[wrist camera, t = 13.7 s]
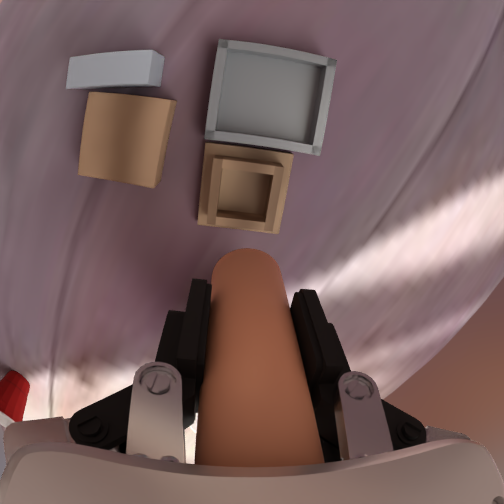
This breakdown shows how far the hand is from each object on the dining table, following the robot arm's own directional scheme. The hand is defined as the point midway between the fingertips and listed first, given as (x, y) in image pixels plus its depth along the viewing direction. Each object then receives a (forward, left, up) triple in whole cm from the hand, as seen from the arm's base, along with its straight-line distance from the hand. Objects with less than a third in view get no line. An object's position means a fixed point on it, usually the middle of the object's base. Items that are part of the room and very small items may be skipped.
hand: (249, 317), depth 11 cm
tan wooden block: (-12, +4, -19) cm, 23 cm away
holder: (0, 0, -19) cm, 19 cm away
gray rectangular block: (-13, +11, -19) cm, 25 cm away
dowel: (0, 0, -3) cm, 3 cm away
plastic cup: (-43, -43, -19) cm, 64 cm away
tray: (+1, +9, -19) cm, 21 cm away
